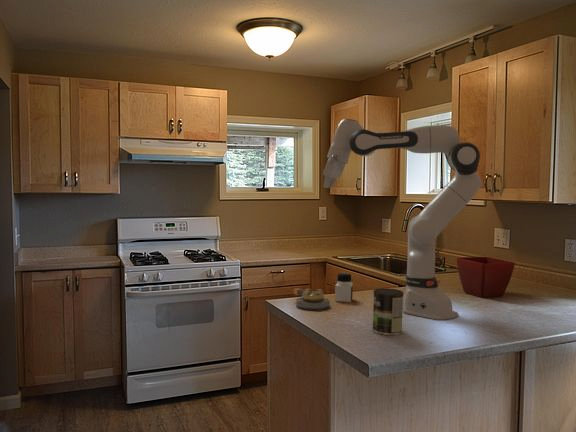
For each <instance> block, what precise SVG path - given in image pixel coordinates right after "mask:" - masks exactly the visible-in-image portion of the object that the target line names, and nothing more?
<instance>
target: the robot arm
mask: <svg viewBox="0 0 576 432" xmlns="http://www.w3.org/2000/svg"><path fill="white" fill-rule="evenodd" d="M459 135H460V134H459V132H458V130H457V129H456V128H455V127H454V126H451V125H444V124H442V125H440V124H439V125H438V124H437V125H422V126H419V127H414V128H410V129H406V130H402V131H393V132H373V131H371V130H368V129H365V128H364V127H363V126H362V125H361V124H360V122H359V121H358V120H355V119H349V118H344V119H342V120H340V122H339V123H338V125H337V128H336V130H335V132H334V135H333V140H332V143H331V145H330V146H329V149H328V152H327V155H326V158H328V159H327V162H326V164H325V165H324V166H325V167H324V169H323V171H322V172H323V173H322V175H323V176H324V181H323V184H322V186H323V188H325V189H333V187H334V185H335V183H336V180H340V178H341V176H342V174H343V171H344V170H345V166H346V165H347V164H348V162H349V158H350V156H351V153H352V152H353V153H354V154H355V155H359V156H360V157H369V156H371V155H373V153H374V152H375V151H376V150H388V149H389V150H391V149H403V150H405V151H408V152H411V153H414V154H435V153H438V154H439V153H440V154H441V153H442V154H444V156H445V160H446V162H447V165H448V167H449V168H451V169H452V170H453V171H454V175H453V177H452V178H451V179H450V181H449V182H447V184H445V186H444V187H443V188H442V189H441V190H440V191H438V193H437V194H436V195H435V196H434V197H433V198H432V199H431V200H430V201H429V203H428V204H426V205H425V207H424V208H423V209H422V210H421V211H420V213H418V215H415V216H414V217H412V218H411V219H410V220H409V222H408V226H407V256H406V257H407V259H406V260H407V261H406V262H407V263H406V265H407V266H406V275H405V283H404V284H405V295H404V298H403V311H402V314H408V315H410V316H411V315H412V316H416V317H422V318H425V319H426V318H427V319H432V320H437V321H441V320H443V321H446V320H450V319H455V318H457V317H458V316H459V312H458V311H454V310H453V303H452V300H451V299H450V297H449V296H448V295H447V294H446V293H445V292H444V291H442V289H441V288H439V284H440V283H441V279H438V280H437V277H435V276H436V238H437V237H438V236H439V235H440V234H441V232H443V231H444V230H445V228H446V227H447V226H448V224H450V222H452V220H453V219H454V218H455V216H456V215H457V214H458V213H460V211H462V210H463V209H464V208H465V206H467V205H468V203H469V202H470V201H471V200H472V199H473V198H474V197H475V195H476V194H477V193H478V192H479V190H480V189H481V187H482V186H483V185H482V184H483V183H482V178H481V177H480V175H479V174H478V173H477V171H478V168H479V163H480V161H481V160H480V159H481V152H480V150H479V148H478V147H477V145H475V144H474V143H472V142H462V141H461V140H460V136H459Z"/></svg>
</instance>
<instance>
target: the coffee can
mask: <svg viewBox="0 0 576 432" xmlns="http://www.w3.org/2000/svg"><path fill="white" fill-rule="evenodd" d="M403 303H404V291H402V290H400V289H396V288H375V289H374V290H373V310H372V312H373V313H372V318H373V319H372V331H373V332H374V333H375V334H378V335H383V336H397V335H401V334H402V333H403V312H404V311H403Z"/></svg>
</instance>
